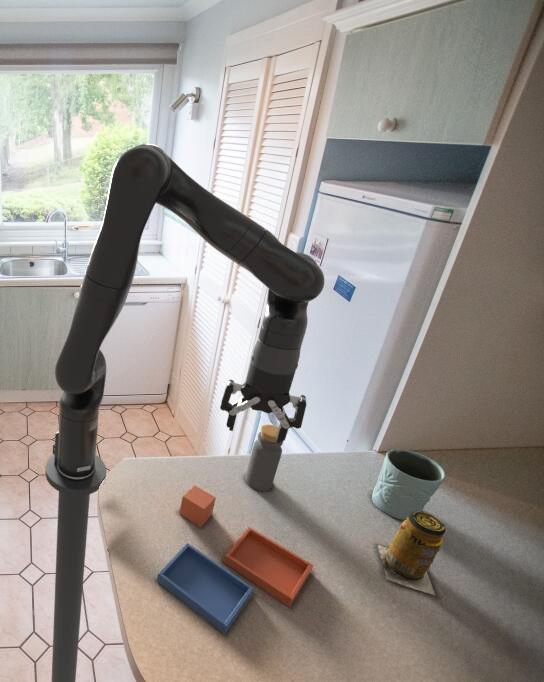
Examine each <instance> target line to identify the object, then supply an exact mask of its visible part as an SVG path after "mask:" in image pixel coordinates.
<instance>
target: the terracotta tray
mask: <svg viewBox="0 0 544 682" xmlns="http://www.w3.org/2000/svg"><path fill="white" fill-rule="evenodd" d="M223 563H224V564H225V565H227V566H228V567H229V568H231V569H233V570H234V571H236V572H237V573H238V574H240V575H242V576H243V577H245V578H246V579H247V580H249V581H250V582H252V583H254V584H255V585H256V586H258V587H259V588H260V589H263V590H264V591H265V592H267V593H268V594H270V595H271V596H273V597H274V598H275V599H277V600H278V601H280V602H282V603H283V604H285V605H286V606H288V607H289V608H291V606H292V604H293V603H294V602H295V599H296V598H297V596H298V595H299V593H300V591H301V589H302V588H303V586H304V585H305V583H306V581H307V579H308V578H309V576H310V574H311V572H312V570H313V568H314V564H313V563H310V562H309V561H307V560H306V559H304V558H302V557H301V556H299V555H297V554H295V553H294V552H292V551H290V550H289V549H287V548H286V547H284V546H282V545H281V544H279V543H277V542H276V541H273V539H270V538H269V537H267V536H265V535H264V534H262V533H260V532H258V531H257V530H255V529H253V528H252V527H250V526H248V527H247V528H246V529H245V531H243V533H242V534H241V536H240V537H239V538H238V539H237V541H236V542H235V543H234V544H233V545H232V547H231V548H230V549H229V550H228V552H227V553H226V554H225V556H224V560H223Z"/></svg>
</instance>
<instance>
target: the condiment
mask: <svg viewBox="0 0 544 682" xmlns="http://www.w3.org/2000/svg"><path fill="white" fill-rule="evenodd" d="M446 530H447V528H446V525H445V523H443V522H442V520H440V519H439V518H438V517H437V516H435V515H433V514H431V513H429V512H426V511H414V512H411V513H410V514H409V516H408V518H407V519H406V520H403V522H401V524H400V526H399V527H398V530H397V532H396V534H395V536H394V538H393V540H392V542H391V544H390V546H389V547H385V546H382V545H379V544H378V545H377V548H378V549H377V550H378V553H379V556H380V560H381V563H382V567H383V571H384V574H385V578H386V580H388V581H391V582H393V583H396V584H399V585H401V586H404V587H407V588H411V589H413V590H415V591H417V590H418V591H420V592H423V593H426V594H430V595H433V596H436V594H435V590H434V589H433V585H432V583H431V580H430V577H429V575H428V572H427V571H428V570H429V569H430V567H431V565H432V564H433V563H434V560H435V558H436V556H437V554H438V552H439V551H440V549H441V546H442V545H443V538H444V535H445V533H446Z"/></svg>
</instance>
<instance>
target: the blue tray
mask: <svg viewBox="0 0 544 682" xmlns="http://www.w3.org/2000/svg"><path fill="white" fill-rule="evenodd" d="M156 582H157V583H159V584H160V585H161V586H162V587H164V588H165V589H166V590H168V591H169V592H170V593H171V594H173V595H174V596H175V597H176V598H177V599H179V600H180V601H181V602H182V603H184V604H185V605H187V606H188V607H189V608H191V610H193V611H194V612H196V613H197V614H198V615H199V616H201V617H202V618H203V619H205V620H206V622H208V623H210V624H211V625H212V626H214V627H215V628H216V629H217V630H219V631H220V632H221V633H222V634H224V635H226V633H227V632H228V630H229V629H230V628H231V626H232V625H233V623H234V622H235V620H236V619H237V617H238V616H239V615H240V613H241V612H242V611H243V609H244V607H245V606H246V604H247V603H248V602H249V600H250V599H251V597H252V595H253V592H254V590H255V588H254V587H253V586H251V585H250V584H248V583H247V582H245V581H244V580H242V579H241V578H239V577H238V576H236V575H235V574H234V573H232V572H231V571H229V570H228V569H227V568H225V567H223V566H222V565H220V564H219V563H218V562H216V561H215V560H213V559H212V558H210V557H209V556H207V555H206V554H205V553H203V552H201V551H200V550H199V549H197V548H195V547H194V546H193V545H191V544H190V543H188V542H187V543H186V544H184V545H183V547H182V548H181V549H180V550H179V551H178V552H177V553H176V554H175V555H174V556H173V557H172V558H171V559H170V561H168V563H167V564H166V565H165V566H164V567H163V568H162V569H161V570H160V571H159V572H158V574H157V578H156Z"/></svg>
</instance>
